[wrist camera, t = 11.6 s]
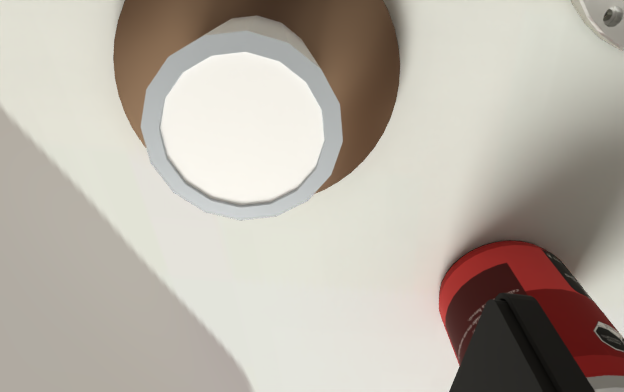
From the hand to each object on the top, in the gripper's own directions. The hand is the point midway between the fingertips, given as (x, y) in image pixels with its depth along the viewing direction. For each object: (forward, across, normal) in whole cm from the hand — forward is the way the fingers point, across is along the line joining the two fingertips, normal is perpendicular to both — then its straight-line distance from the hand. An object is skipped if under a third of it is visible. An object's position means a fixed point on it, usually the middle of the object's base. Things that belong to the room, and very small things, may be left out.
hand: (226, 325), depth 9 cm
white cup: (+16, +1, 0) cm, 17 cm away
